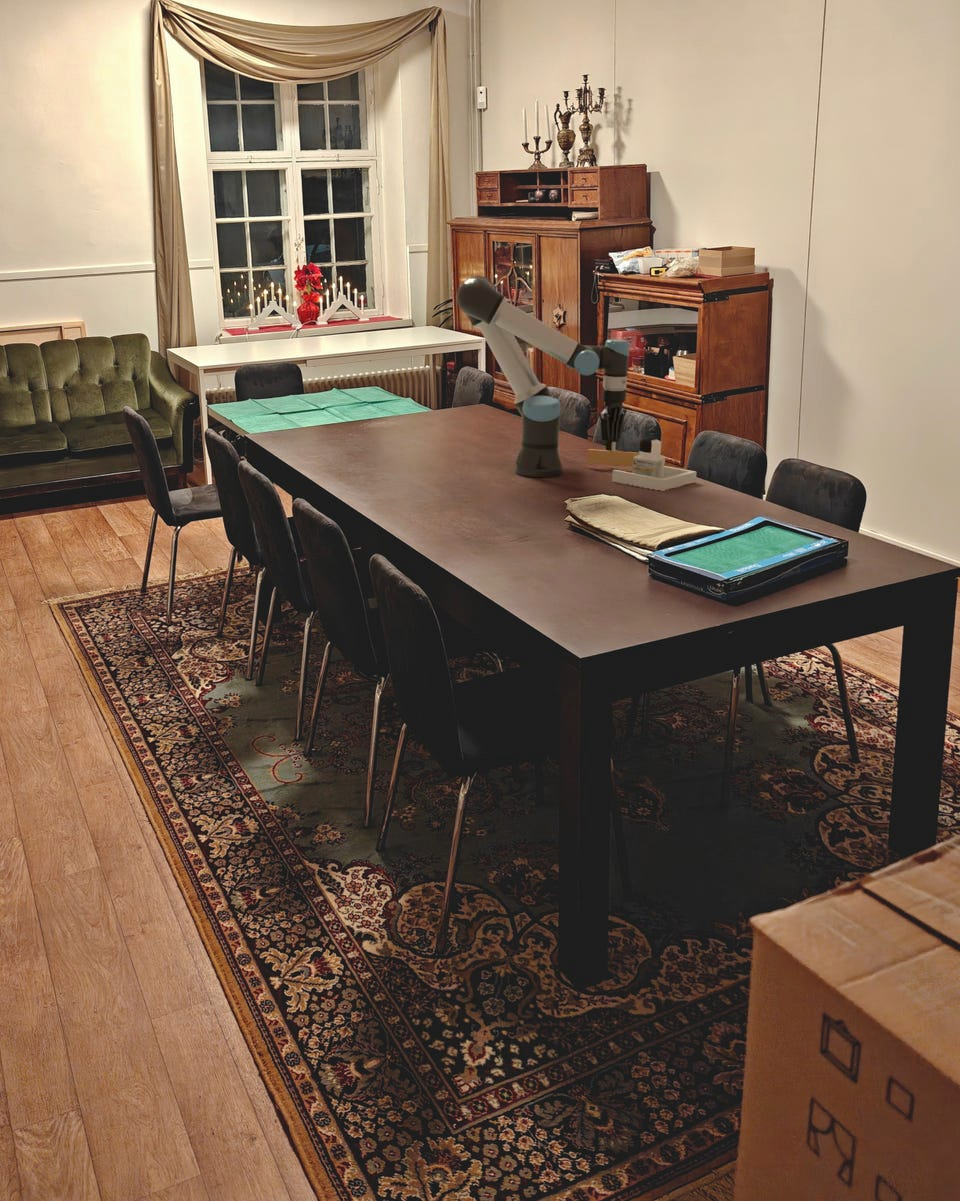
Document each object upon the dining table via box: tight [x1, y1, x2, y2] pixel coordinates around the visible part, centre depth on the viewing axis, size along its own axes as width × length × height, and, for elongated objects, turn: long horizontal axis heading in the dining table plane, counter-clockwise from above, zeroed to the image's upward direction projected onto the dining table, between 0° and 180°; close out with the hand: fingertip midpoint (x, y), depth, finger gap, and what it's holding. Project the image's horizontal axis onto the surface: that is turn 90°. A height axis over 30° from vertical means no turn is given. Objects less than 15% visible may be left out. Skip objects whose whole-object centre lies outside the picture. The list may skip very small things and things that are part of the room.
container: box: [631, 438, 666, 479], centre depth 354 cm, size 8×8×13 cm
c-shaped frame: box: [611, 465, 698, 492], centre depth 354 cm, size 19×18×4 cm
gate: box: [587, 448, 640, 468], centre depth 369 cm, size 20×2×6 cm, turn 78°
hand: (609, 461), depth 373 cm, fingers closed
